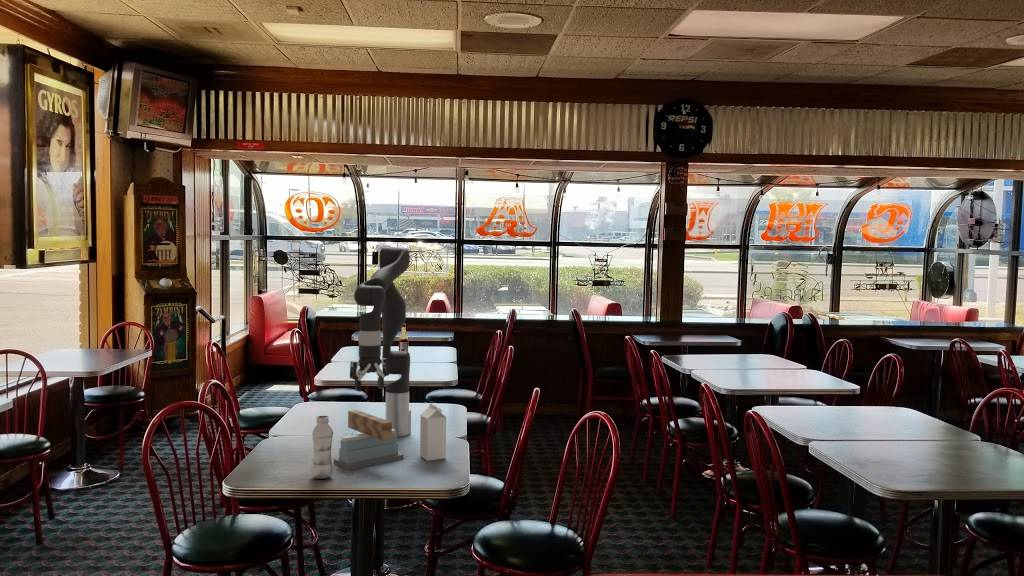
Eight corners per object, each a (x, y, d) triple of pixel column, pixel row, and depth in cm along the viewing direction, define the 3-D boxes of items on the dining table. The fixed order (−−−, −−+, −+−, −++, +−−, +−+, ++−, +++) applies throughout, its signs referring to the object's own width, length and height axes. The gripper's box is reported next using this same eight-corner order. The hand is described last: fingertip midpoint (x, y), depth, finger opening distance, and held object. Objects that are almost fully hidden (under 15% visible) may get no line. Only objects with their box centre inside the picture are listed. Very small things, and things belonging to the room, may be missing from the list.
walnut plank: (391, 439, 264) (391, 422, 263) (383, 441, 262) (383, 423, 261) (356, 426, 282) (356, 409, 281) (348, 427, 280) (348, 410, 279)
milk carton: (427, 461, 273) (427, 407, 272) (419, 456, 279) (420, 403, 278) (446, 459, 276) (446, 405, 275) (438, 454, 283) (439, 402, 281)
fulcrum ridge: (388, 452, 283) (388, 426, 283) (403, 458, 276) (404, 431, 275) (333, 463, 269) (333, 435, 268) (348, 469, 261) (348, 441, 261)
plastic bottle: (313, 475, 255) (313, 414, 254) (334, 474, 255) (334, 414, 254) (309, 481, 248) (309, 419, 247) (331, 481, 249) (331, 419, 248)
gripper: (357, 346, 262) (356, 393, 263) (393, 343, 272) (393, 389, 273) (346, 343, 268) (345, 390, 269) (382, 340, 277) (381, 386, 278)
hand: (369, 389), depth 271 cm, fingers open, 8 cm apart
